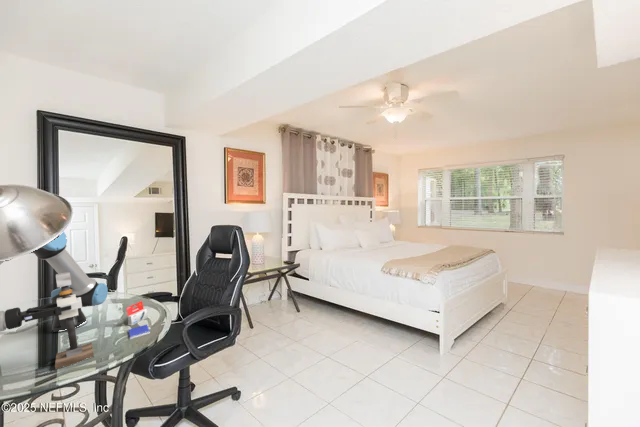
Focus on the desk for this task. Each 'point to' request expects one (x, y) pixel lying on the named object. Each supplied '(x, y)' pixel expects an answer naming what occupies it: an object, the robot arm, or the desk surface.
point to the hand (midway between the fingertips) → (81, 302)
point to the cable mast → (70, 331)
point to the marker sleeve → (63, 302)
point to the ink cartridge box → (136, 313)
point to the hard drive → (138, 331)
